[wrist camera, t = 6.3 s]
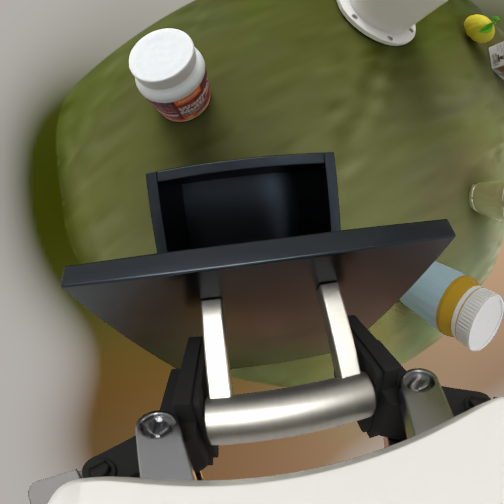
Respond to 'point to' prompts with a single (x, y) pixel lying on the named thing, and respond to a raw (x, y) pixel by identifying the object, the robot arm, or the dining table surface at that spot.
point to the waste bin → (243, 200)
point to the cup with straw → (488, 199)
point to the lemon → (480, 28)
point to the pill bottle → (171, 74)
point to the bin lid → (265, 316)
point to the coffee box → (497, 59)
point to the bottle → (456, 305)
